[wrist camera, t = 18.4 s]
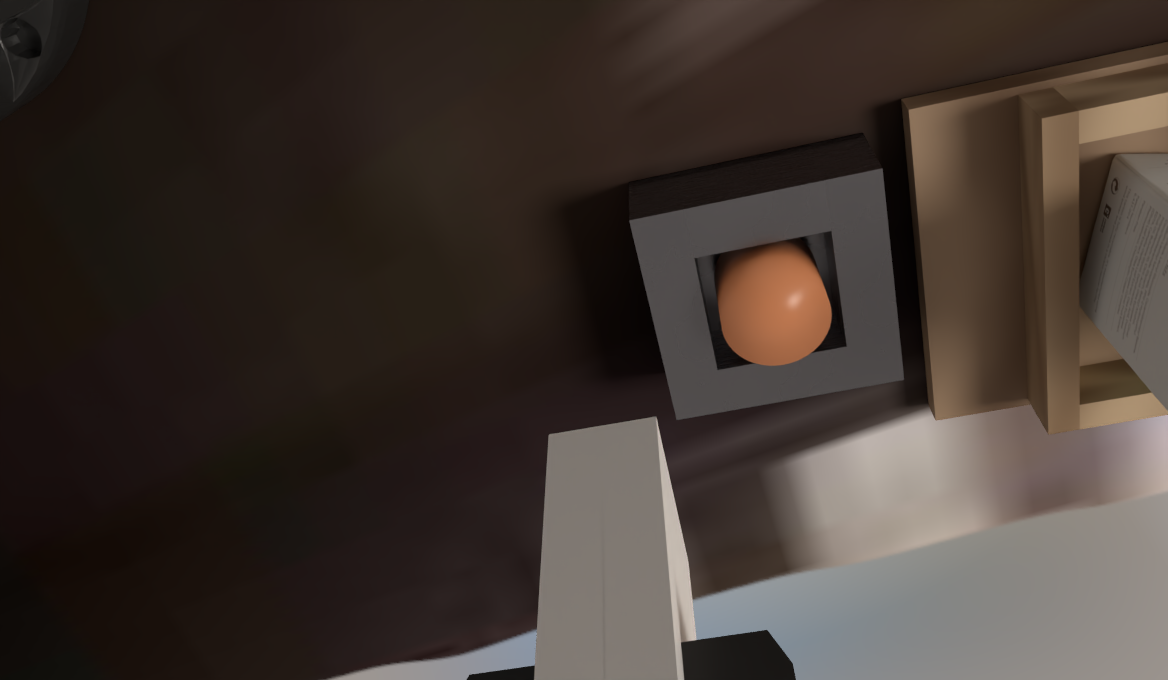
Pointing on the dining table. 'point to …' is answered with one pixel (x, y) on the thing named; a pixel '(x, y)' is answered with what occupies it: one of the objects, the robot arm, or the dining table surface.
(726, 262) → the button
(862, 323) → the button housing
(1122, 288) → the skincare box
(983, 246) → the wooden tray
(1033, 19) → the dining table surface
